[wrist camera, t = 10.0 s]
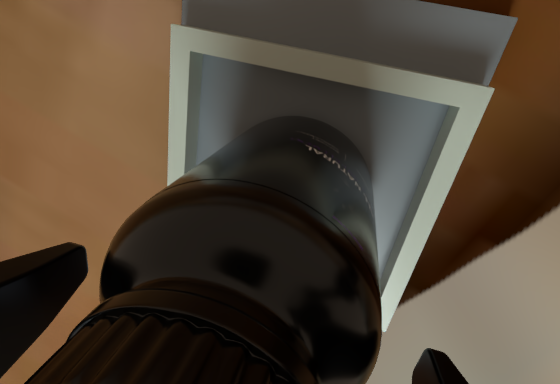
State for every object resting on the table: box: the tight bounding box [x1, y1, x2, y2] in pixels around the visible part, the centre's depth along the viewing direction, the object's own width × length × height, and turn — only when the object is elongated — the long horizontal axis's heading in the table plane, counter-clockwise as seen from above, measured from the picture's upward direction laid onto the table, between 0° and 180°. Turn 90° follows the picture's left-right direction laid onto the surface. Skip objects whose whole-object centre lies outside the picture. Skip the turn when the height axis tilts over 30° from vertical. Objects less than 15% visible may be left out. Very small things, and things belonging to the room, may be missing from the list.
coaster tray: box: [167, 0, 518, 332], centre depth 15 cm, size 12×16×2 cm
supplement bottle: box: [24, 116, 382, 384], centre depth 10 cm, size 7×7×12 cm
